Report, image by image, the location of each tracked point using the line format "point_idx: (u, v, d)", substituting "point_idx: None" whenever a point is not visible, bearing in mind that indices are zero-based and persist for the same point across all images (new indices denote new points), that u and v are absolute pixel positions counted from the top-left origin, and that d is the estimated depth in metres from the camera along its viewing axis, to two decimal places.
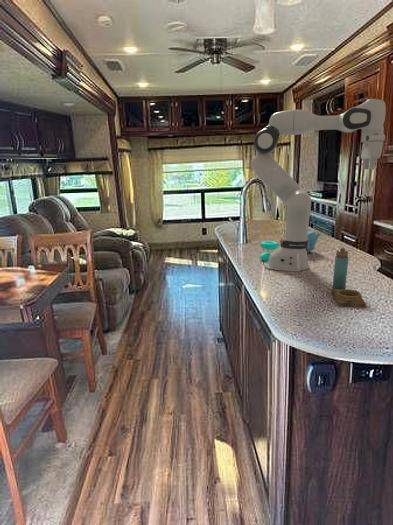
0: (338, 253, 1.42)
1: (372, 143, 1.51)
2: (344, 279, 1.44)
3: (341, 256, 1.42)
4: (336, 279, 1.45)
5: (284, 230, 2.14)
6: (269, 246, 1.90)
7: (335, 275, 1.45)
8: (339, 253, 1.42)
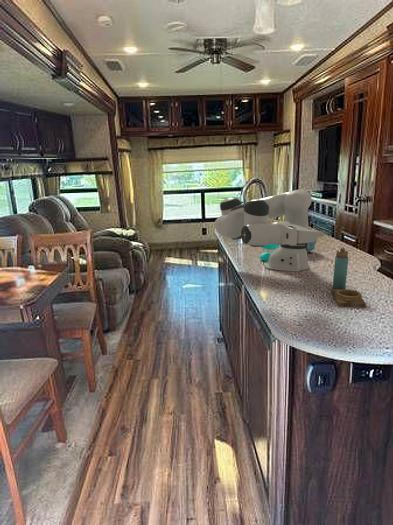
0: (338, 253, 1.42)
1: (301, 242, 1.29)
2: (344, 279, 1.44)
3: (341, 256, 1.42)
4: (336, 279, 1.45)
5: None
6: (269, 246, 1.90)
7: (335, 275, 1.45)
8: (339, 253, 1.42)
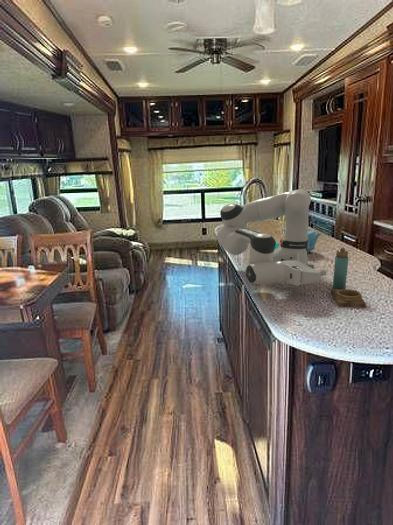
0: (338, 253, 1.42)
1: (304, 282, 1.33)
2: (344, 279, 1.44)
3: (341, 256, 1.42)
4: (336, 279, 1.45)
5: (284, 230, 2.14)
6: None
7: (335, 275, 1.45)
8: (339, 253, 1.42)
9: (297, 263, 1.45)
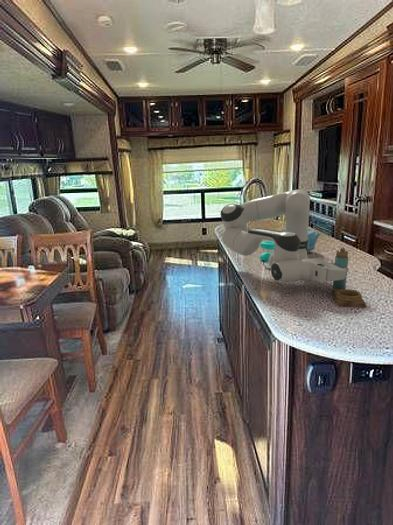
0: (338, 253, 1.42)
1: (330, 279, 1.35)
2: (344, 279, 1.44)
3: (341, 256, 1.42)
4: None
5: (284, 230, 2.14)
6: (269, 246, 1.90)
7: None
8: (339, 253, 1.42)
9: (321, 261, 1.48)
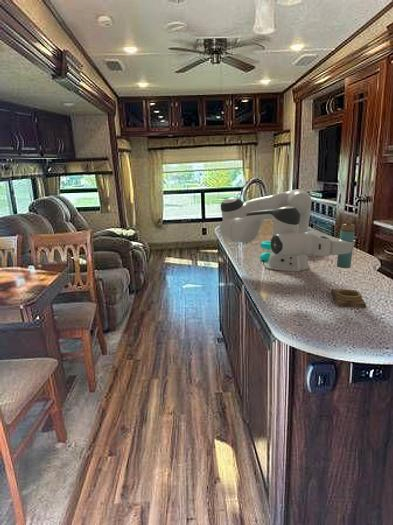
0: (344, 226, 1.32)
1: (334, 253, 1.24)
2: (349, 255, 1.33)
3: (346, 229, 1.31)
4: (340, 255, 1.34)
5: None
6: (269, 246, 1.90)
7: None
8: (345, 226, 1.31)
9: (324, 236, 1.37)
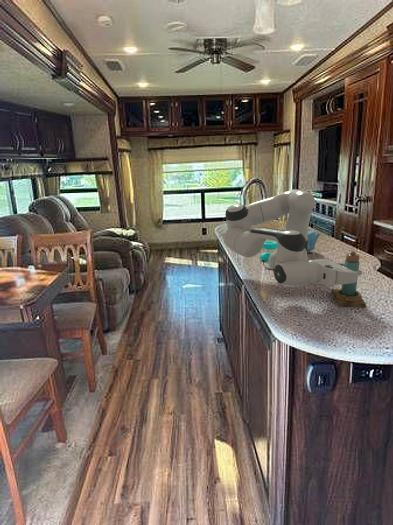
0: (348, 257, 1.29)
1: (339, 283, 1.22)
2: (354, 286, 1.31)
3: (351, 260, 1.29)
4: (345, 286, 1.32)
5: None
6: (269, 246, 1.90)
7: None
8: (349, 257, 1.29)
9: (328, 262, 1.34)
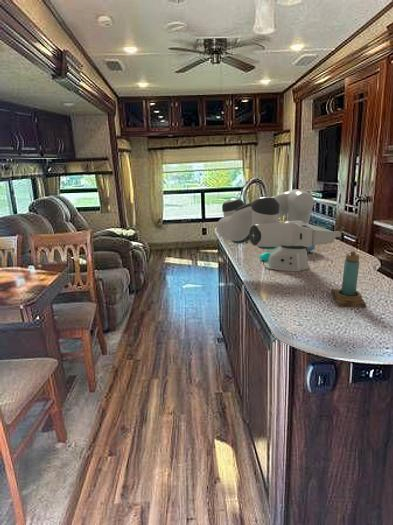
0: (348, 257, 1.29)
1: (316, 243, 1.16)
2: (354, 286, 1.31)
3: (351, 260, 1.29)
4: (345, 285, 1.32)
5: None
6: None
7: (344, 281, 1.32)
8: (349, 257, 1.29)
9: (307, 225, 1.29)
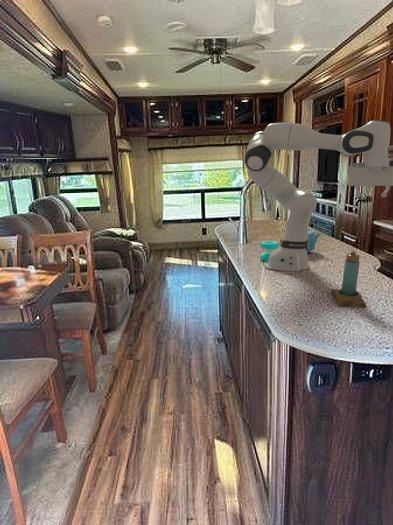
0: (348, 257, 1.29)
1: None
2: (354, 286, 1.31)
3: (351, 260, 1.29)
4: (345, 286, 1.32)
5: (284, 230, 2.14)
6: (269, 246, 1.90)
7: (344, 281, 1.32)
8: (350, 257, 1.29)
9: None
